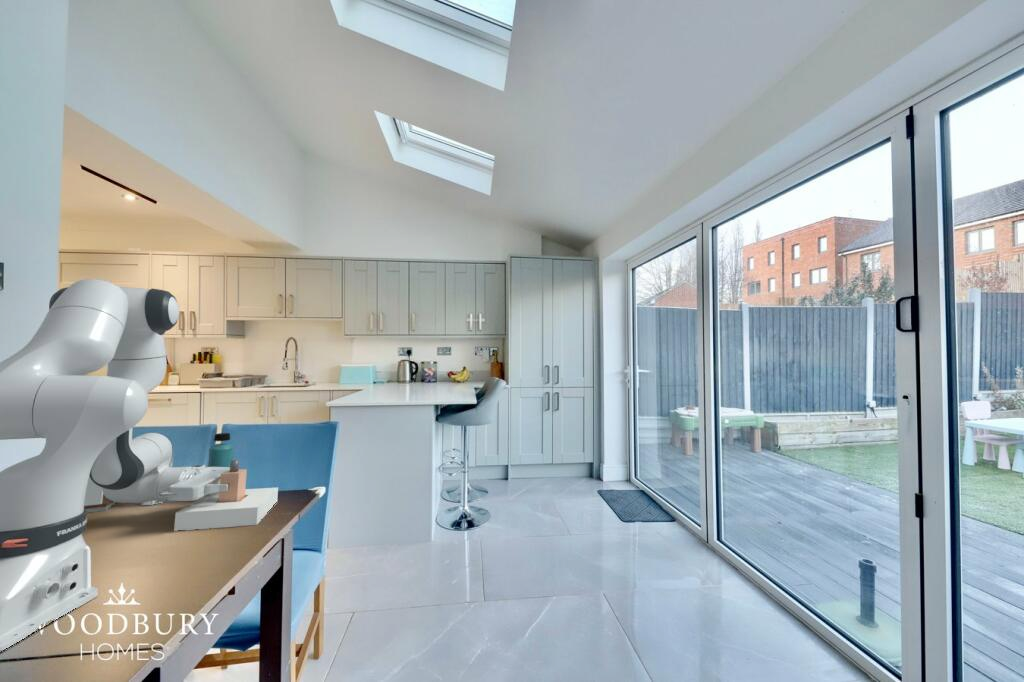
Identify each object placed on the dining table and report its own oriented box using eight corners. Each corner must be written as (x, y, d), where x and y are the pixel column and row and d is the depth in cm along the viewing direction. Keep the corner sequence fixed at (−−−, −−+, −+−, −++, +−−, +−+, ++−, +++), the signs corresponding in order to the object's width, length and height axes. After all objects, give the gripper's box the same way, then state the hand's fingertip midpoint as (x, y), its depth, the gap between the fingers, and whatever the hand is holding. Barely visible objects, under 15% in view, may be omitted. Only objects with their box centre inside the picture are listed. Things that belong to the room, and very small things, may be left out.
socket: (256, 524, 101) (257, 507, 102) (173, 531, 96) (175, 512, 97) (277, 502, 119) (278, 487, 119) (208, 507, 114) (209, 491, 114)
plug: (235, 518, 106) (239, 462, 107) (217, 519, 105) (221, 462, 106) (243, 512, 110) (247, 458, 111) (225, 513, 109) (230, 458, 110)
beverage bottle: (235, 494, 125) (240, 432, 127) (218, 501, 118) (223, 435, 120) (217, 493, 126) (222, 431, 127) (198, 500, 119) (204, 434, 121)
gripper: (154, 482, 96) (217, 480, 99) (202, 463, 116) (254, 462, 119) (152, 509, 95) (215, 506, 98) (201, 485, 115) (252, 483, 118)
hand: (237, 482), depth 108 cm, fingers open, 8 cm apart
